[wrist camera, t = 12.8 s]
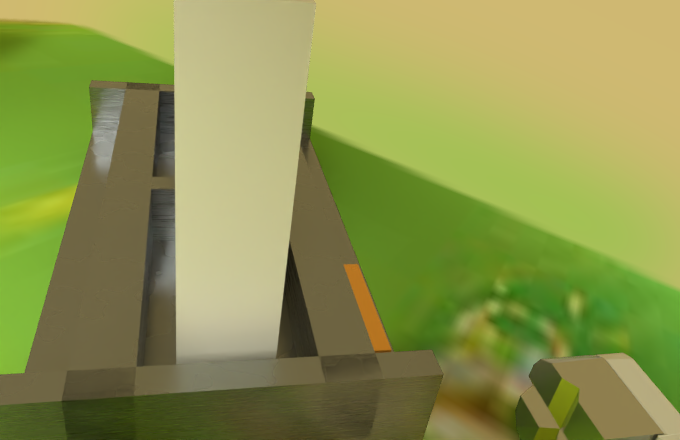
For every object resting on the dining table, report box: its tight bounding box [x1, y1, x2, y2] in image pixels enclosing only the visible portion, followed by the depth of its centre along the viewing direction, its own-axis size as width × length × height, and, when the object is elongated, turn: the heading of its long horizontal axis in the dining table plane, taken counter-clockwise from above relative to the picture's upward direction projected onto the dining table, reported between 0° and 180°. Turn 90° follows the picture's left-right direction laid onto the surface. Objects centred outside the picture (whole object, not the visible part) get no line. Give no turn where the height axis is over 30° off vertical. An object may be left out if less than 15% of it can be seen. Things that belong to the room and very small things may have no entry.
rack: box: [0, 80, 443, 440], centre depth 23 cm, size 12×22×13 cm, turn 12°
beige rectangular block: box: [174, 0, 316, 365], centre depth 19 cm, size 3×7×12 cm, turn 13°
